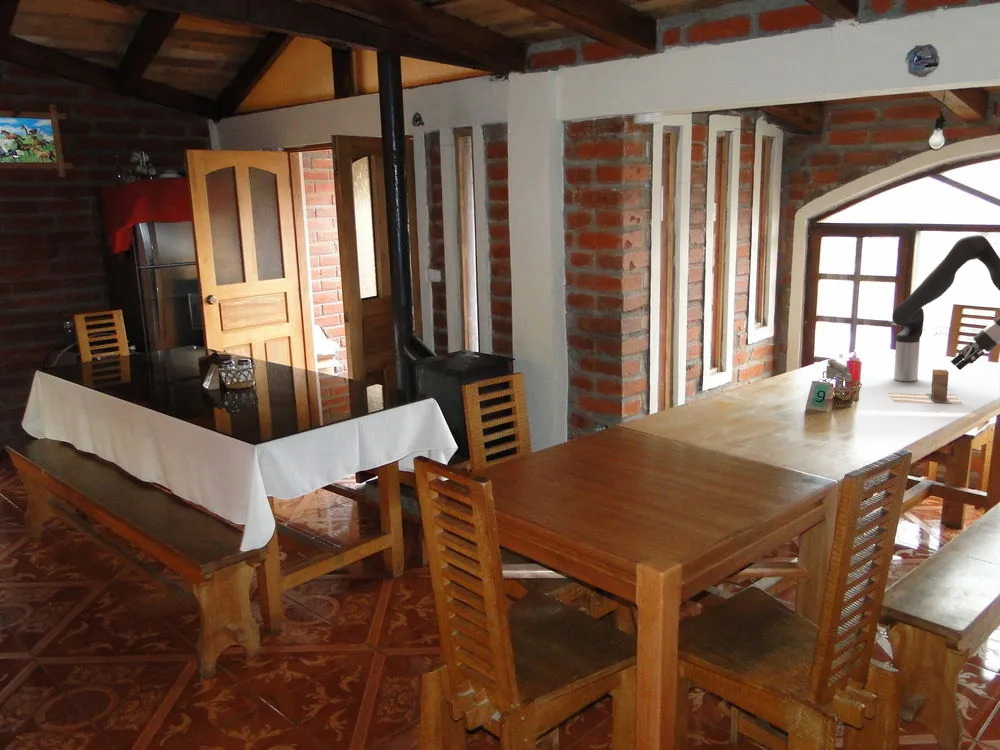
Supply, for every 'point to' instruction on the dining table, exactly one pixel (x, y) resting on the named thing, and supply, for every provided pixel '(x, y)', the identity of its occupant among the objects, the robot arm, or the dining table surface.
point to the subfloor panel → (922, 398)
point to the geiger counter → (837, 370)
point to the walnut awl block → (939, 384)
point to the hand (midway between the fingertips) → (955, 365)
